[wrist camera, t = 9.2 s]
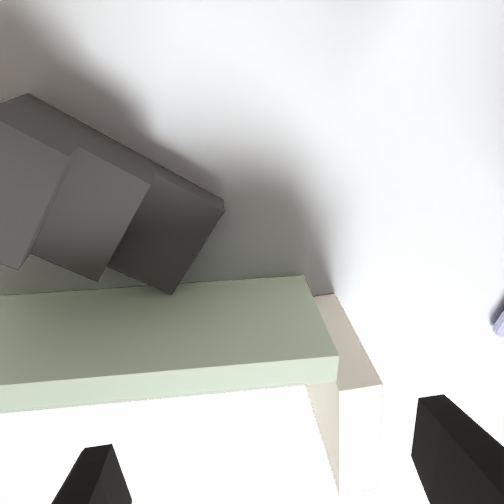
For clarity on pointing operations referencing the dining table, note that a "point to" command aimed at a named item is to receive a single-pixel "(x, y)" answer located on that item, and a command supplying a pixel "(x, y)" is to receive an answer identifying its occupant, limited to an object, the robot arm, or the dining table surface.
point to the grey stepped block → (94, 201)
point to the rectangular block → (348, 405)
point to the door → (160, 342)
